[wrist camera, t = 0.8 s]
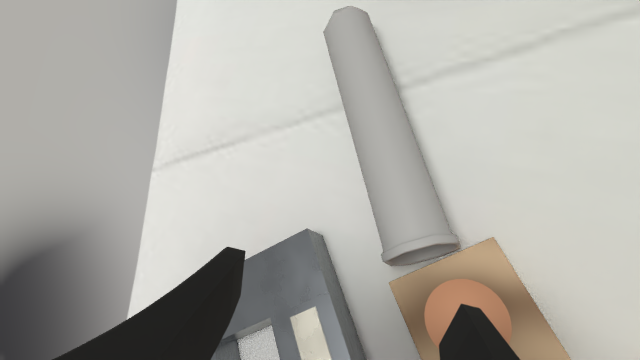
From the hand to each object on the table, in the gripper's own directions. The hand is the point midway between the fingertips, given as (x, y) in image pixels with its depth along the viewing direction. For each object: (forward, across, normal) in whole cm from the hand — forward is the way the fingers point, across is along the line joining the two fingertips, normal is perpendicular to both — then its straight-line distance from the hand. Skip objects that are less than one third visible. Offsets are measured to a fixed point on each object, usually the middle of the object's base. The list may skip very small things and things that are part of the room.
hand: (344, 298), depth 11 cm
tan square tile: (+9, -10, +8) cm, 16 cm away
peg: (+8, -10, +8) cm, 15 cm away
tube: (+20, -3, -3) cm, 21 cm away
